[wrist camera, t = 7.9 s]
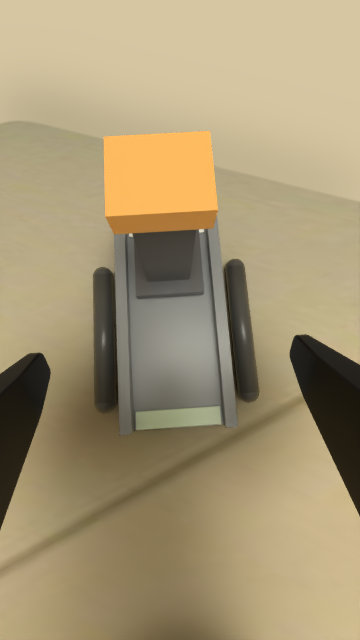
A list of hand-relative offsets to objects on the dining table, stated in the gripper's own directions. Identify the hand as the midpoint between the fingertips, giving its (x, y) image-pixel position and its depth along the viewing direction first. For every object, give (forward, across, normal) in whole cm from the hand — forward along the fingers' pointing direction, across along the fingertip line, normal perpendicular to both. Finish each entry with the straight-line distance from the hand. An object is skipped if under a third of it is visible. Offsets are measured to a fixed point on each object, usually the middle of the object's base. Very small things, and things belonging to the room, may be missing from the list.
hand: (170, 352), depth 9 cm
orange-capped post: (+12, 0, +2) cm, 12 cm away
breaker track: (+11, 0, +6) cm, 12 cm away
